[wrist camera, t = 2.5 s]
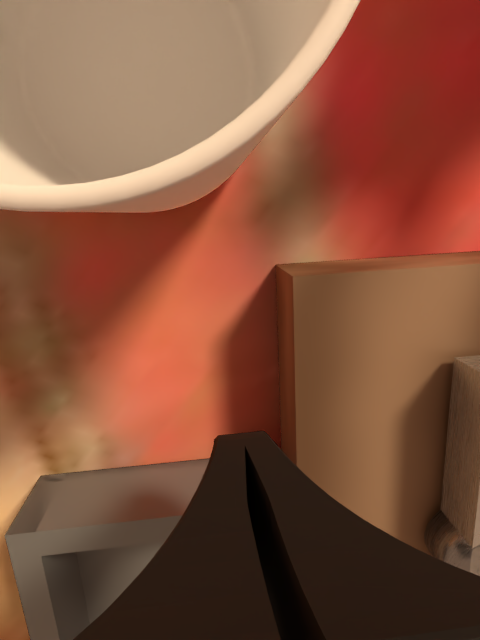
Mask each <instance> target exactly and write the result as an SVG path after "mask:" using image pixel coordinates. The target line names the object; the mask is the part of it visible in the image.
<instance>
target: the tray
mask: <svg viewBox="0 0 480 640" xmlns="http://www.w3.org/2000/svg"><path fill="white" fill-rule="evenodd" d="M209 459H210V458H209ZM209 459H199V460H190V461H180V462H170V463H161V464H151V465H141V466H131V467H122V468H112V469H102V470H93V471H83V472H73V473H63V474H54V475H44V476H41V477H40V478H39V480H38V481H37V483H36V485H35V486H34V488H33V490H32V491H31V493H30V495H29V496H28V498H27V500H26V501H25V503H24V505H23V506H22V508H21V509H20V511H19V513H18V514H17V516H16V518H15V519H14V521H13V523H12V524H11V526H10V528H9V529H8V531H7V532H6V534H5V539H6V543H7V547H8V551H9V555H10V559H11V563H12V567H13V571H14V575H15V579H16V583H17V587H18V591H19V595H20V599H21V603H22V607H23V612H24V616H25V620H26V624H27V628H28V632H29V636H30V640H73V639H74V638H75V637H76V636H78V635H79V634H80V633H81V632H82V631H83V630H84V629H85V628H86V627H88V626H89V625H90V624H91V623H92V622H93V621H94V620H95V619H97V618H98V617H99V616H100V615H101V614H102V613H103V612H104V611H105V610H106V609H107V608H108V607H109V606H110V605H111V604H112V603H113V602H114V601H115V600H116V599H117V598H118V597H119V595H120V594H121V593H122V592H123V591H124V590H125V589H126V588H127V587H128V586H129V585H130V584H131V583H132V581H133V580H134V579H135V578H136V577H137V576H138V575H139V574H140V573H141V571H142V570H143V569H144V568H145V567H146V565H147V564H148V563H149V562H150V561H151V559H152V558H153V557H154V555H155V554H156V553H157V551H158V550H159V549H160V547H161V546H162V545H163V544H164V542H165V541H166V540H167V538H168V537H169V535H170V534H171V532H172V531H173V529H174V528H175V526H176V525H177V523H178V522H179V520H180V519H181V517H182V515H183V514H184V512H185V510H186V508H187V507H188V505H189V503H190V501H191V499H192V497H193V495H194V493H195V492H196V490H197V488H198V486H199V484H200V481H201V479H202V477H203V474H204V472H205V470H206V467H207V465H208V462H209Z"/></svg>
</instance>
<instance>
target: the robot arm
mask: <svg viewBox="0 0 480 640" xmlns="http://www.w3.org/2000/svg"><path fill="white" fill-rule="evenodd" d="M73 640H480V576H478V575H476V574H473V573H471V572H468V571H465V570H463V569H460V568H458V567H455V566H453V565H450V564H448V563H446V562H444V561H441V560H439V559H437V558H435V557H433V556H431V555H429V554H426V553H424V552H422V551H420V550H418V549H416V548H414V547H412V546H410V545H408V544H406V543H404V542H402V541H400V540H398V539H397V538H395V537H393V536H391V535H389V534H388V533H386V532H384V531H383V530H381V529H379V528H377V527H376V526H374V525H372V524H370V523H369V522H367V521H366V520H364V519H362V518H361V517H359V516H358V515H356V514H355V513H353V512H352V511H351V510H349V509H348V508H346V507H345V506H343V505H342V504H340V503H339V502H338V501H336V500H335V499H334V498H332V497H331V496H330V495H328V494H327V493H326V492H325V491H324V490H322V489H321V488H320V487H319V486H318V485H317V484H315V483H314V482H313V481H312V480H311V479H310V478H309V477H308V476H307V475H305V474H304V473H303V472H302V471H301V470H300V469H299V468H298V467H297V466H296V465H295V464H294V463H293V462H292V461H291V460H290V459H289V458H288V457H287V456H286V455H285V453H284V452H283V451H282V450H281V449H280V448H279V447H278V446H277V445H276V443H275V442H274V441H273V440H272V439H271V438H270V436H269V435H268V434H267V433H266V432H265V431H258V432H248V433H238V434H228V435H218V436H217V437H216V438H215V439H214V445H213V450H212V453H211V457H210V459H209V462H208V465H207V467H206V470H205V472H204V474H203V477H202V479H201V481H200V484H199V486H198V488H197V490H196V492H195V493H194V495H193V497H192V499H191V501H190V503H189V505H188V507H187V508H186V510H185V512H184V514H183V515H182V517H181V519H180V520H179V522H178V523H177V525H176V526H175V528H174V529H173V531H172V532H171V534H170V535H169V537H168V538H167V540H166V541H165V542H164V544H163V545H162V546H161V547H160V549H159V550H158V551H157V553H156V554H155V555H154V557H153V558H152V559H151V561H150V562H149V563H148V564H147V565H146V567H145V568H144V569H143V570H142V571H141V573H140V574H139V575H138V576H137V577H136V578H135V579H134V580H133V581H132V583H131V584H130V585H129V586H128V587H127V588H126V589H125V590H124V591H123V592H122V593H121V594H120V595H119V597H118V598H117V599H116V600H115V601H114V602H113V603H112V604H111V605H110V606H109V607H108V608H107V609H106V610H105V611H104V612H103V613H102V614H101V615H100V616H99V617H98V618H97V619H95V620H94V621H93V622H92V623H91V624H90V625H89V626H88V627H86V628H85V629H84V630H83V631H82V632H81V633H80V634H79V635H78V636H76V637H75V638H74V639H73Z"/></svg>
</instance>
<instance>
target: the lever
mask: <svg viewBox="0 0 480 640" xmlns="http://www.w3.org/2000/svg"><path fill="white" fill-rule="evenodd" d="M424 540H425V544H426V547H427V549H428V550H429V552H430V553H431V555H432V556H433V557H435V558H437V559H439V560H441V561H444V562H446V563H448V564H450V565H453V566H455V567H458V568H460V569H463V570H465V571H468V572H471V573H473V574H476V575H478V576H480V355H477V356H466V357H454V362H453V374H452V385H451V396H450V408H449V419H448V431H447V442H446V454H445V465H444V477H443V488H442V500H441V510H440V511H438V512H437V513H436V514H435V515H434V516H433V517H432V519H431V520H430V521H429V523H428V525H427V527H426V530H425V535H424Z"/></svg>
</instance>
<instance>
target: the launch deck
mask: <svg viewBox="0 0 480 640" xmlns="http://www.w3.org/2000/svg"><path fill="white" fill-rule="evenodd" d="M276 296H277V328H278V360H279V391H280V423H281V450H282V451H283V452H284V453H285V455H286V456H287V457H288V458H289V459H290V460H291V461H292V462H293V463H294V464H295V465H296V466H297V467H298V468H299V469H300V470H301V471H302V472H303V473H304V474H305V475H307V476H308V477H309V478H310V479H311V480H312V481H313V482H314V483H315V484H317V485H318V486H319V487H320V488H321V489H322V490H324V491H325V492H326V493H327V494H328V495H330V496H331V497H332V498H334V499H335V500H336V501H338V502H339V503H340V504H342V505H343V506H345V507H346V508H348V509H349V510H351V511H352V512H353V513H355V514H356V515H358V516H359V517H361V518H362V519H364V520H366V521H367V522H369V523H370V524H372V525H374V526H376V527H377V528H379V529H381V530H383V531H384V532H386V533H388V534H389V535H391V536H393V537H395V538H397V539H398V540H400V541H402V542H404V543H406V544H408V545H410V546H412V547H414V548H416V549H418V550H420V551H422V552H424V553H426V554H429V555H431V553H430V552H429V550H428V549H427V547H426V544H425V540H424V535H425V530H426V527H427V525H428V523H429V521H430V520H431V519H432V517H433V516H434V515H435V514H436V513H437V512H438V511H440V510H441V500H442V488H443V477H444V465H445V454H446V442H447V431H448V419H449V408H450V396H451V385H452V374H453V362H454V357H466V356H477V355H480V251H472V252H458V253H443V254H428V255H413V256H398V257H383V258H368V259H353V260H338V261H323V262H308V263H293V264H278V265H276ZM431 556H432V555H431Z"/></svg>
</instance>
